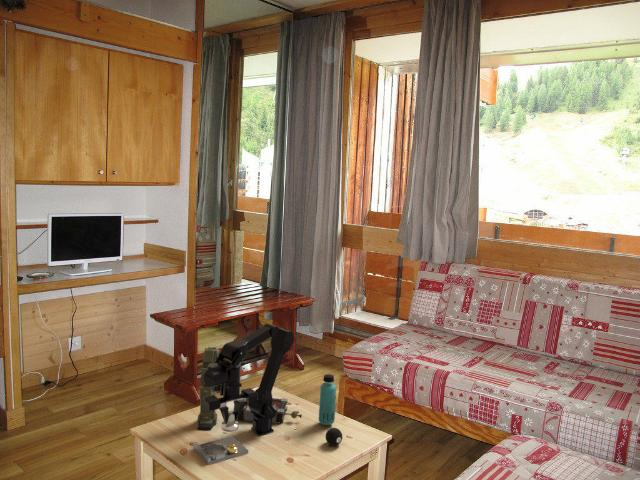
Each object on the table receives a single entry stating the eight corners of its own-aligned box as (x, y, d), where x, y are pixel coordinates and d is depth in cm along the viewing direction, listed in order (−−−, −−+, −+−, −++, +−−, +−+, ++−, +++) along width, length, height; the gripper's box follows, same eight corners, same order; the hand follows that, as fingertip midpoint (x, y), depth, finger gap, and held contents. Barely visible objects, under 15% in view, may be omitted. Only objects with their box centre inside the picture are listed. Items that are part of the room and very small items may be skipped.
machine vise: (244, 405, 227) (245, 394, 226) (304, 410, 225) (304, 399, 225) (236, 421, 212) (237, 409, 212) (300, 427, 211) (300, 414, 210)
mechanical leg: (211, 432, 200) (217, 349, 203) (192, 431, 200) (198, 348, 203) (218, 424, 213) (224, 347, 217) (200, 423, 213) (206, 346, 217)
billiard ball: (331, 450, 193) (332, 434, 193) (322, 443, 198) (322, 427, 198) (345, 446, 197) (346, 430, 196) (335, 439, 202) (336, 423, 201)
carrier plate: (232, 438, 198) (232, 429, 198) (248, 453, 188) (248, 443, 188) (193, 448, 189) (193, 439, 189) (207, 464, 180) (208, 454, 179)
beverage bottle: (320, 429, 209) (323, 379, 206) (316, 421, 215) (318, 372, 213) (336, 427, 211) (339, 378, 208) (331, 420, 217) (334, 371, 215)
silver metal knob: (233, 422, 196) (234, 407, 196) (241, 429, 191) (242, 414, 191) (218, 426, 193) (219, 411, 192) (226, 433, 188) (226, 417, 187)
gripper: (244, 367, 202) (243, 408, 204) (197, 376, 191) (196, 418, 193) (259, 377, 193) (257, 419, 195) (210, 387, 182) (209, 431, 184)
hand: (230, 422), depth 192 cm, fingers closed on silver metal knob, 3 cm apart
